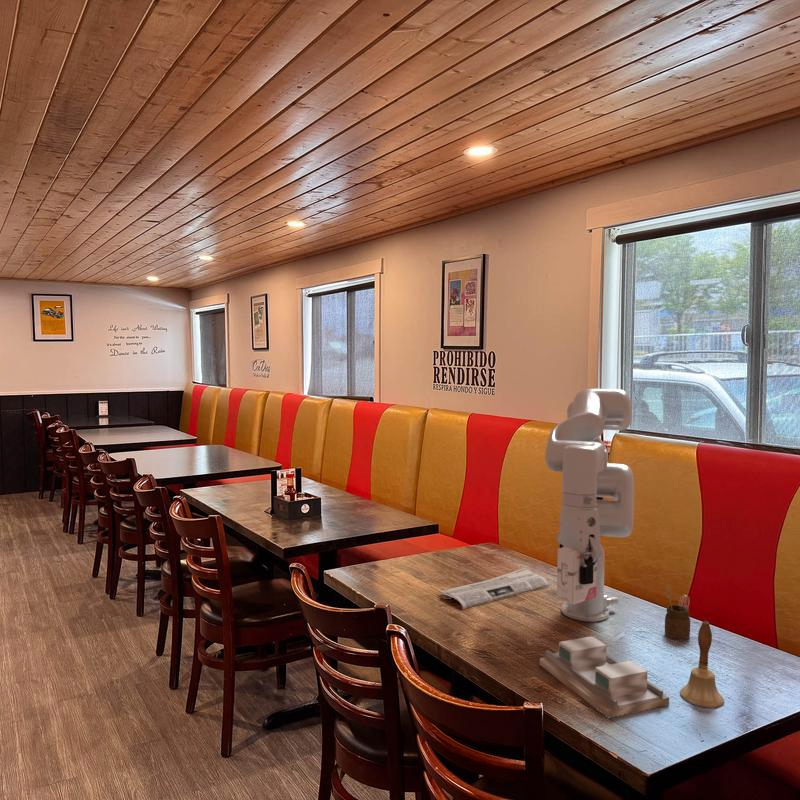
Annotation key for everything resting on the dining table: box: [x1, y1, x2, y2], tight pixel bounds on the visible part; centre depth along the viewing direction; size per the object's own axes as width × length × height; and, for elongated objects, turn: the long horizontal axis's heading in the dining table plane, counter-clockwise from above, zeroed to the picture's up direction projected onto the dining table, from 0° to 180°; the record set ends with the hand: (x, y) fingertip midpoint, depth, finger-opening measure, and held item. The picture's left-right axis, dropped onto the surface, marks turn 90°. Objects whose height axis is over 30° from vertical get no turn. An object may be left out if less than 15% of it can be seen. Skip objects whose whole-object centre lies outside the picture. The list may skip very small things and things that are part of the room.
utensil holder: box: [664, 584, 691, 641], centre depth 166 cm, size 6×6×12 cm
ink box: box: [556, 547, 597, 605], centre depth 149 cm, size 9×5×12 cm, turn 127°
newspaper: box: [439, 566, 550, 610], centre depth 198 cm, size 35×12×4 cm, turn 124°
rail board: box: [539, 635, 670, 718], centre depth 141 cm, size 15×24×6 cm, turn 21°
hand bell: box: [679, 620, 725, 709], centre depth 135 cm, size 8×8×16 cm
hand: (577, 578), depth 149 cm, fingers closed on ink box, 6 cm apart
